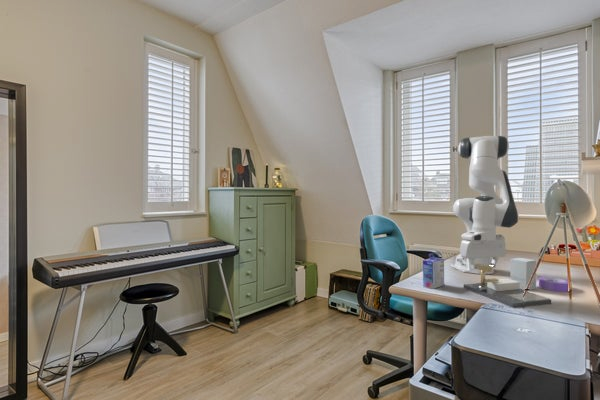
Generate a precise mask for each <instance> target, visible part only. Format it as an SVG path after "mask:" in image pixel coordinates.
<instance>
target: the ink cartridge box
mask: <svg viewBox="0 0 600 400" xmlns="http://www.w3.org/2000/svg"><path fill="white" fill-rule="evenodd" d="M422 276H423V277H422V282H423V285H422V286H423V287H424V288H427V289H433V290H434V289H438V288H439V287H442V286H445V259H444V258H441V257H440V258H439V257H435V254H434V253H432V252H431V253H429V254H428V258H427V259H424V260H422Z"/></svg>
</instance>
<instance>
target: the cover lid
mask: <svg viewBox="0 0 600 400" xmlns="http://www.w3.org/2000/svg"><path fill="white" fill-rule="evenodd" d="M497 279H498V278H497ZM498 280H499V281H498V282H486V283H487V287H488V288H491V289H494V290H497V291H505V290H517V289H520V282H518V281H515V280H511V279H510V278H499V279H498Z"/></svg>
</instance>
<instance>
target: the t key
mask: <svg viewBox="0 0 600 400" xmlns="http://www.w3.org/2000/svg"><path fill="white" fill-rule="evenodd" d="M475 264H476V265H477V269H479V270H481V274H480V283H481V286H485V283H487V282H498V281H499V280H498V278H486V274H485V271H486V272H492V267H490V266H487V265H483V264H480V263H475Z"/></svg>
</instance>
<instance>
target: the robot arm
mask: <svg viewBox="0 0 600 400" xmlns="http://www.w3.org/2000/svg"><path fill="white" fill-rule="evenodd" d="M509 144H510V143H509V141H508V138H507V137H506V136H503V135H498V136H496V135H482V136H474V137H465V138H462V139H461V140H460V142H459V144H458V146H457V151H458V153H459V156H460V157H461V158H463V159H467V160H468V159H470V164H469V169H468V170H469V172H468V173H469V174H468V186H469V188H470V189H471V190H473V191H474V192H477V193H479V196H475V197H465V198H464V197H463V198H458V199H456V200H455V202H454V203H453V206H452V211H453V214H454V215H455V216H456V217H457V218H458V219H460V220H461V222H462V223H463V224H464V226H465V228H466V232H464V233H462V234H461V235H460V236H461V239H462V240H461V241H460V247H459V253H458V255H456V258H455V263H451V264H450V267H452V268H454V269H456V270H458V271H460V272H463V273H470V274H478V275H479V274H480V275H481V270H479V269H477V265H476V264H475V263H480V264H483V265H487V266H490V267H492V272H486V271H485V275H492V274H494V273H495V268H496V267H497V265H496V264H497V263H498V261H499V258H500V257H502V258H503V257H504V258H505V256H506V255H507V245H506V239H505V236H503V235H502V234H497V227H502V228H508V229H510V228H512V227H513V226H516V224H517V223H519V222H518V221H519V217H520V216H519V211H518V209H517V206H516V204H515V203H516V202H515V200H514V195H513V190H512V188H511V183H510V181H509V177H508V174H507V172H506V171H505V170H502V169H501V168H500V167H501V166H499V164H498V163H499V162H498V160H499V159H500V158H501V159H502V158H504V156H506V155H507V152H508V151H509V148H510V147H509V146H510V145H509ZM494 186H496V187H497V188H498V189H499V192H500V196H501V197H500V196H499V195H498V194H497V192H496V191H495V188H494Z"/></svg>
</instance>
